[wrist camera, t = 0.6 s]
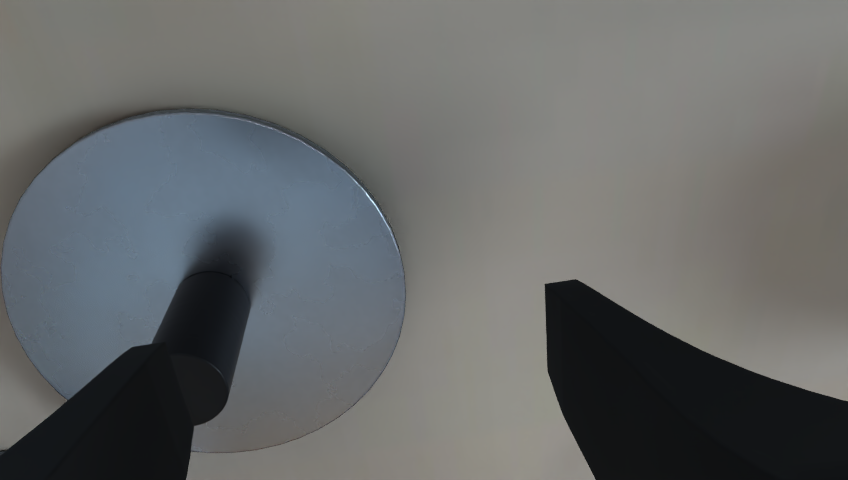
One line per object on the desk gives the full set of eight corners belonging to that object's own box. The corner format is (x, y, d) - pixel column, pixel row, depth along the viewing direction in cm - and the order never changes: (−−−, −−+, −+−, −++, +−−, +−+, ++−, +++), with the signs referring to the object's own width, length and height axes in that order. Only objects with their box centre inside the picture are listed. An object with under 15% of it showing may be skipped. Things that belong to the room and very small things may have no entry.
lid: (423, 402, 25) (443, 519, 20) (93, 458, 25) (28, 593, 20) (374, 75, 20) (384, 123, 15) (-53, 136, 19) (-195, 208, 14)
